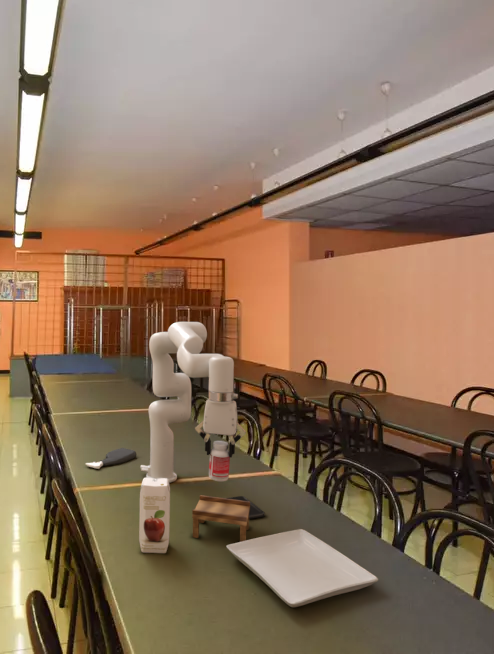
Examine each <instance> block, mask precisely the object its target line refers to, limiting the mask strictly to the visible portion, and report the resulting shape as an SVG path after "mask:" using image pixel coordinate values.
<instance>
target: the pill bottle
mask: <svg viewBox="0 0 494 654" xmlns="http://www.w3.org/2000/svg"><path fill="white" fill-rule="evenodd" d="M230 461H231V457H229V442H227V441H224V440H214V441H213V442H212V448H211V451H210V454H209V463H208V464H209V465H208V478H209V479H210V480H212V481H214V482H227V481H228V480H229V477H230Z"/></svg>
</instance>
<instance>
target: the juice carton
mask: <svg viewBox="0 0 494 654" xmlns="http://www.w3.org/2000/svg"><path fill="white" fill-rule="evenodd" d="M170 512H171V487H170V483H169V481H168V479H167V478H159V479H153V478H146V476H144V477H143V479H142V481H141V485H140V490H139V524H138V525H139V526H138V527H139V528H138V531H139V533H138V542H139V548H140V550H141V553H144V554H145V553H146V554H151V553H154V554H166V553H167V550H168V547H169V543H170V519H171V518H170V517H171V515H170V514H171V513H170Z"/></svg>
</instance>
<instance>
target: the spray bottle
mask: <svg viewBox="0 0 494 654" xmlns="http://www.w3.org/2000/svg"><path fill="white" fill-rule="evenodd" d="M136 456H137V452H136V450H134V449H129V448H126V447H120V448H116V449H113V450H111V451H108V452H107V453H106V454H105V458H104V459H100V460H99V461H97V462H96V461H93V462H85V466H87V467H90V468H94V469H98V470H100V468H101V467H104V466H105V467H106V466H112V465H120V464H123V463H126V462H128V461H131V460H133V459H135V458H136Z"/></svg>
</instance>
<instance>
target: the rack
mask: <svg viewBox="0 0 494 654" xmlns="http://www.w3.org/2000/svg"><path fill="white" fill-rule="evenodd" d="M226 498H227V497H217V496H211V495H203V494H200V495H199V500H198V502H197V504H196V506H195V508H194V509H193V508H192V513H191V516H192V517H191V519H192V538H195V539H198V538H199V536H200V523H201V524H205V523H206V521H209V522H216V523H223V524H229V525H237V526H239V542H242V541H246V540H247V531H249V529H250V519H249V512H250V502H251V501H250V500H249V501H250V502H249V501H242V500H234V499H226Z"/></svg>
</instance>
